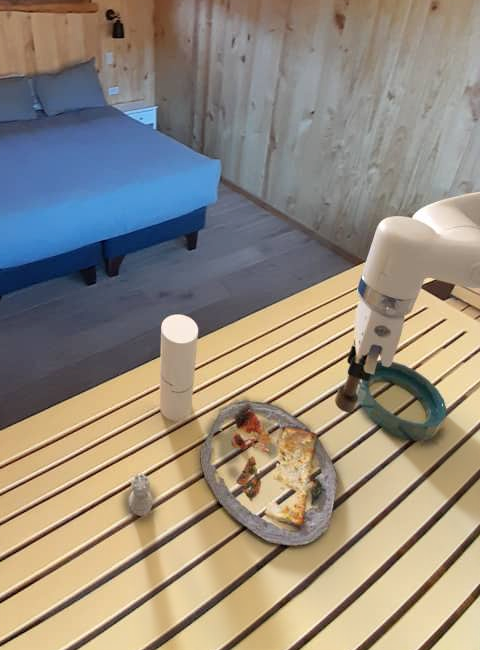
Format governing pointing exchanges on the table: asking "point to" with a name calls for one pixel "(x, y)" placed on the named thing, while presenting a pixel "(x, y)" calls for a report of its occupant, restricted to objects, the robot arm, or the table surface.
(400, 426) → the ring
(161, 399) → the cylindrical container
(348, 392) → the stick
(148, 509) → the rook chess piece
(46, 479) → the table surface
